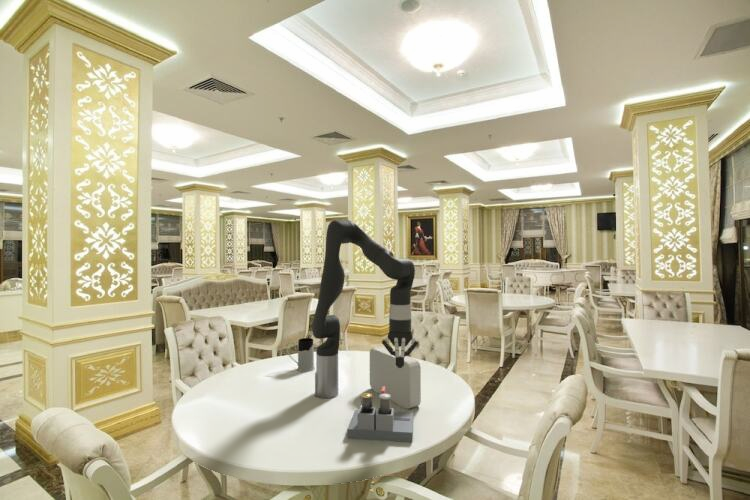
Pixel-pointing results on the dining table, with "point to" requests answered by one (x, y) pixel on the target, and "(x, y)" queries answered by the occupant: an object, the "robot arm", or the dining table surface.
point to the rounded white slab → (396, 377)
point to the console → (381, 425)
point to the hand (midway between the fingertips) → (399, 367)
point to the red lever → (383, 390)
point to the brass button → (366, 402)
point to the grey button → (385, 403)
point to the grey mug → (305, 354)
